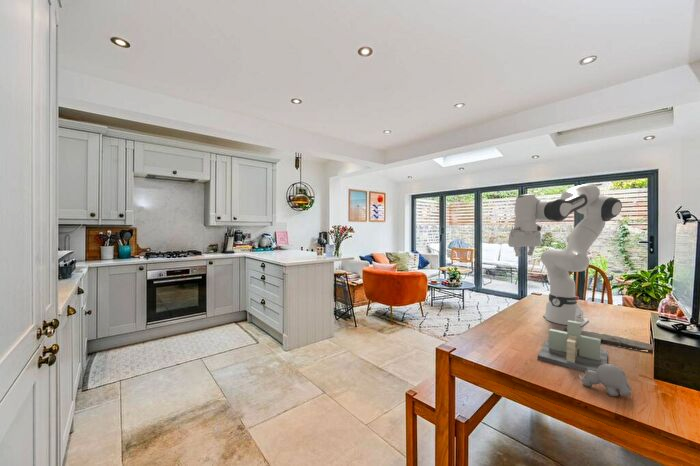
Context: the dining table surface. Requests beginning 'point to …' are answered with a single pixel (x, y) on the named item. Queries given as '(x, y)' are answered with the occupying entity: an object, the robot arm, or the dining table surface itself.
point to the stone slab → (617, 341)
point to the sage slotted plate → (587, 344)
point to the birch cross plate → (571, 356)
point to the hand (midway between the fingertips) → (524, 255)
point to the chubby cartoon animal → (608, 379)
